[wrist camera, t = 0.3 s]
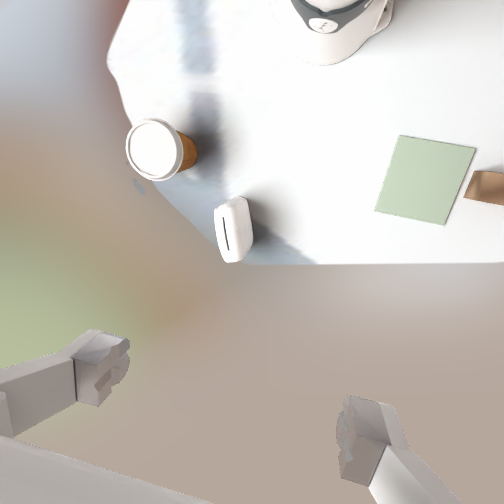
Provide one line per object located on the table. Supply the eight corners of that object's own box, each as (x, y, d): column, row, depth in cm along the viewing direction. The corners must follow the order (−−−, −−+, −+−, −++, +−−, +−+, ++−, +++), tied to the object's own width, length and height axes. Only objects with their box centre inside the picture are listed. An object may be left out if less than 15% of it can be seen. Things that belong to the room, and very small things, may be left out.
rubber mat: (398, 135, 48) (399, 135, 47) (473, 148, 46) (475, 148, 46) (374, 210, 52) (374, 211, 51) (442, 224, 51) (443, 225, 50)
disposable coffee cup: (150, 150, 56) (111, 147, 45) (182, 115, 53) (149, 102, 42) (182, 187, 57) (152, 193, 46) (215, 155, 54) (191, 153, 43)
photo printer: (256, 245, 58) (243, 265, 47) (236, 247, 59) (218, 267, 47) (248, 195, 55) (233, 203, 44) (227, 198, 56) (207, 207, 45)
